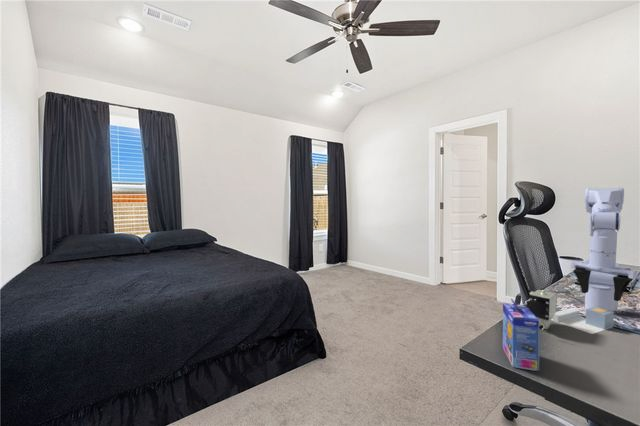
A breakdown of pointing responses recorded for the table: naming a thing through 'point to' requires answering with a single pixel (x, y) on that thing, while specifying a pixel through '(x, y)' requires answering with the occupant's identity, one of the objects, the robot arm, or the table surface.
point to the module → (599, 317)
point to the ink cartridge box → (521, 336)
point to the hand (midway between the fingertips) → (600, 296)
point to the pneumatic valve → (543, 306)
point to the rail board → (575, 320)
